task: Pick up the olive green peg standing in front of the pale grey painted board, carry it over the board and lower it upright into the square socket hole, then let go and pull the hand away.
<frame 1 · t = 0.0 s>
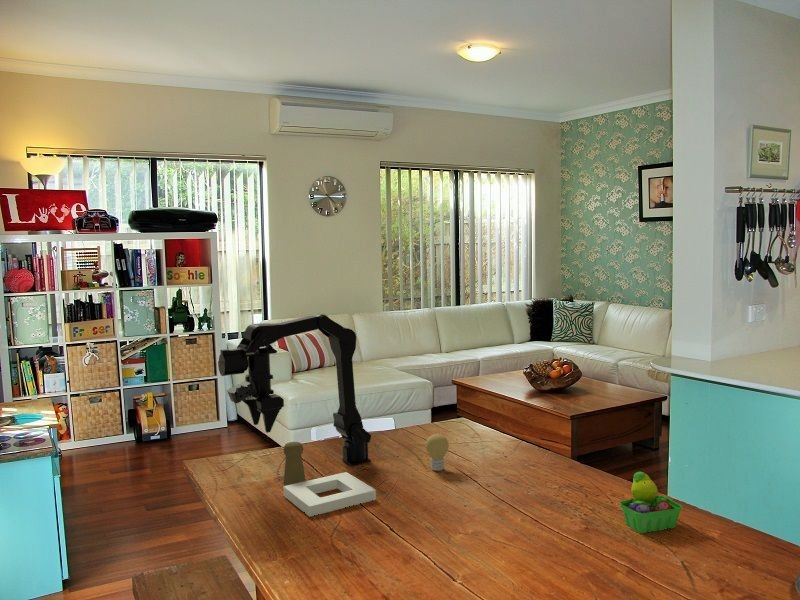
hand: (261, 428, 182), 15 cm above the table, tool pointing down, fingers open, 9 cm apart
socket board: (329, 497, 170), on the table
fruit basket: (648, 526, 149), on the table
light bulb: (437, 470, 189), on the table
olive green peg: (294, 483, 181), on the table
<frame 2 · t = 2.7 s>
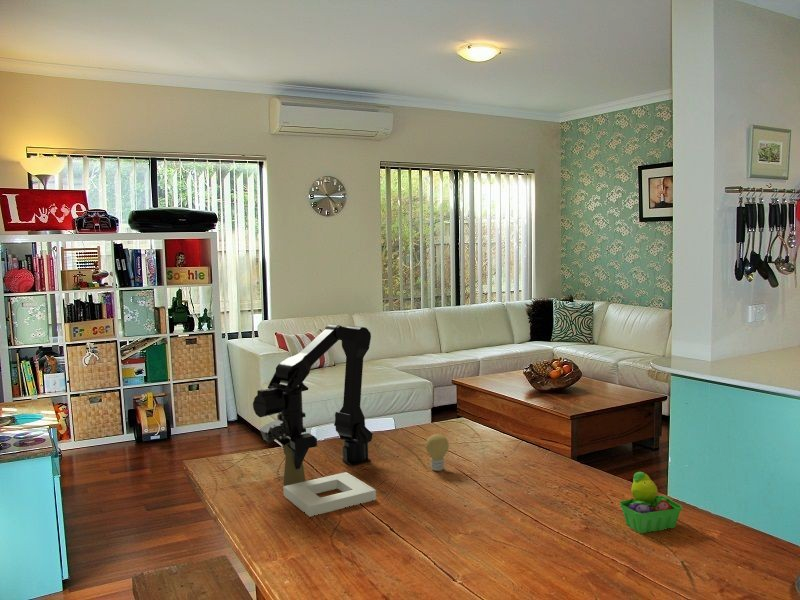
hand: (293, 466, 181), 5 cm above the table, tool pointing down, fingers closed on olive green peg, 4 cm apart
olive green peg: (294, 483, 181), on the table, touching gripper
everything else where it was.
when the fingers open (5 cm above the table, at t = 8.4 s): olive green peg stays where it is, on the table.
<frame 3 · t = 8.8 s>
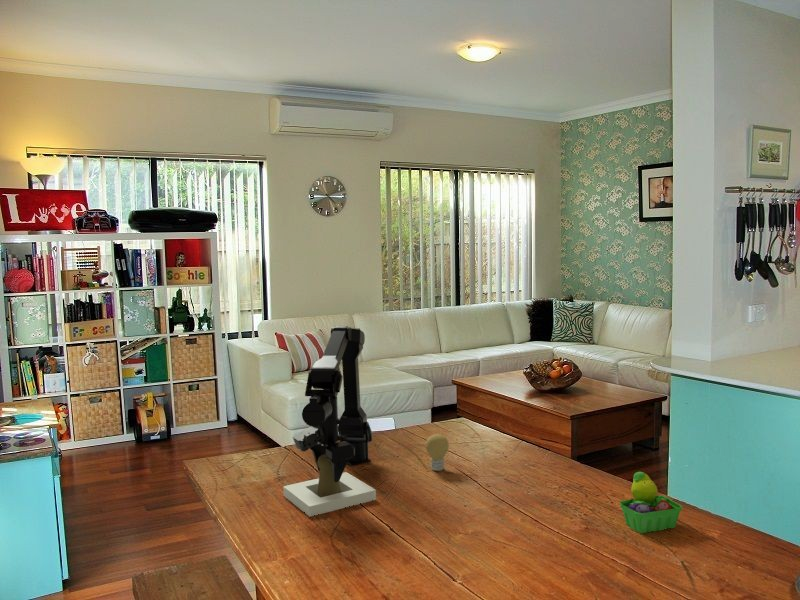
hand: (328, 476, 170), 5 cm above the table, tool pointing down, fingers open, 9 cm apart
olive green peg: (329, 498, 170), on the table
everything else where it was.
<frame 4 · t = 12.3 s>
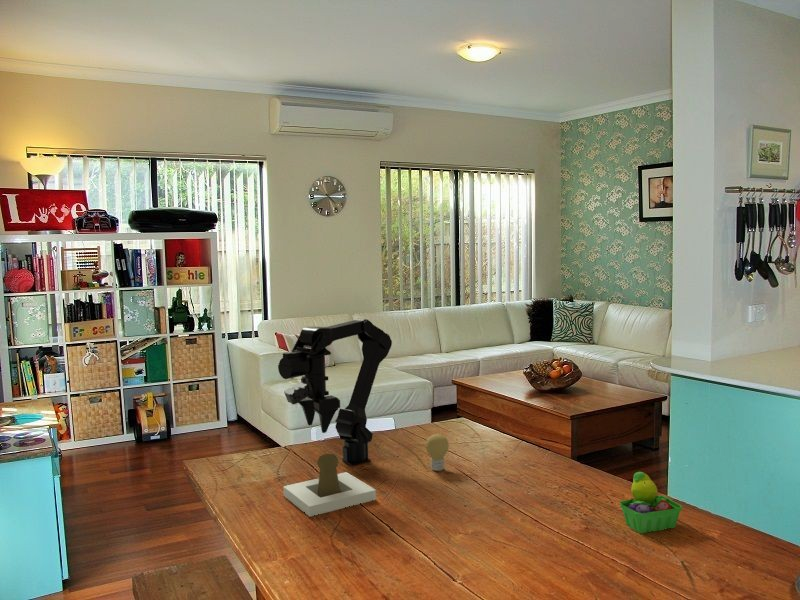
hand: (316, 428, 186), 13 cm above the table, tool pointing down, fingers open, 9 cm apart
nothing on the table moved.
at the end: olive green peg 0.1 cm off-centre on the socket board, point 0.0 cm above the socket board's base; olive green peg tilted 0°; the gripper is holding nothing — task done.
